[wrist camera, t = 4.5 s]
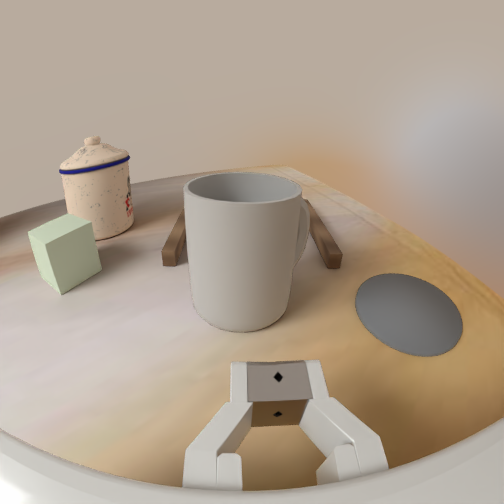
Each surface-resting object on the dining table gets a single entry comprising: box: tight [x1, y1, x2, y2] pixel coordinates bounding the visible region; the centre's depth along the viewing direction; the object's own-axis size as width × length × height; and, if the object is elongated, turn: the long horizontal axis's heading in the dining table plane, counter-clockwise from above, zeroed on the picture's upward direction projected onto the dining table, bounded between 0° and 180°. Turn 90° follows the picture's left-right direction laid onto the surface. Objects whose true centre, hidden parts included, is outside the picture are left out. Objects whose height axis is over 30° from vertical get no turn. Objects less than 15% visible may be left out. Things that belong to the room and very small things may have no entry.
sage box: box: [28, 213, 102, 295], centre depth 22 cm, size 5×5×5 cm
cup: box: [183, 172, 310, 332], centre depth 20 cm, size 7×10×9 cm
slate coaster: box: [355, 273, 462, 356], centre depth 20 cm, size 10×10×1 cm
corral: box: [161, 199, 343, 268], centre depth 32 cm, size 16×16×2 cm
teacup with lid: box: [59, 136, 134, 240], centre depth 31 cm, size 12×9×12 cm
